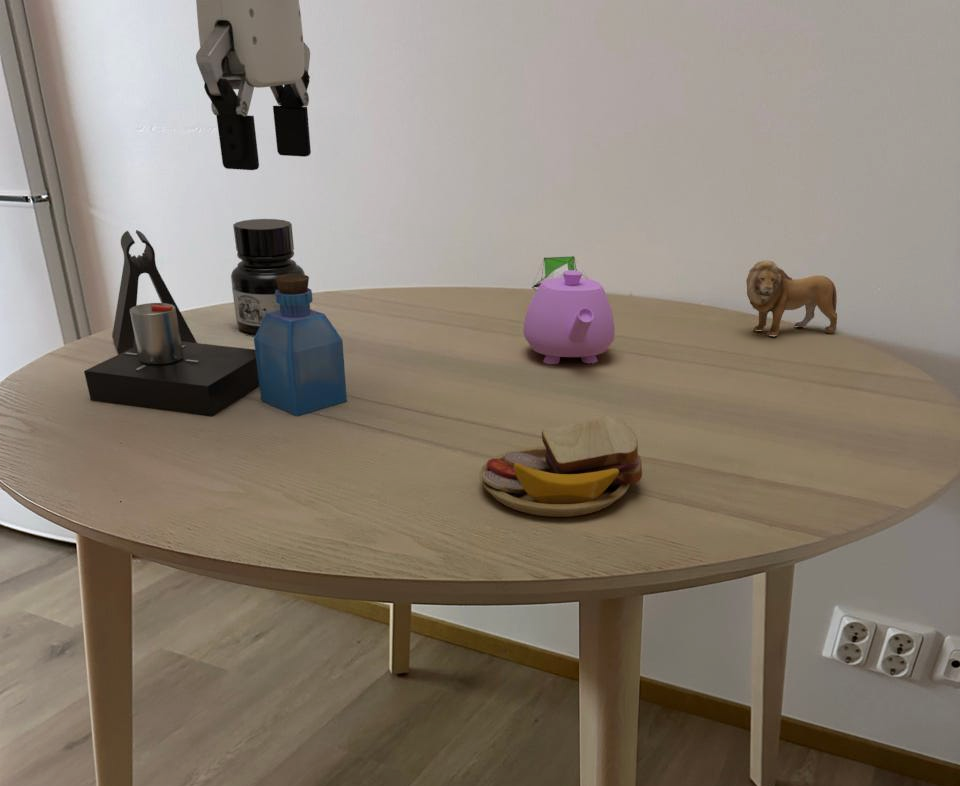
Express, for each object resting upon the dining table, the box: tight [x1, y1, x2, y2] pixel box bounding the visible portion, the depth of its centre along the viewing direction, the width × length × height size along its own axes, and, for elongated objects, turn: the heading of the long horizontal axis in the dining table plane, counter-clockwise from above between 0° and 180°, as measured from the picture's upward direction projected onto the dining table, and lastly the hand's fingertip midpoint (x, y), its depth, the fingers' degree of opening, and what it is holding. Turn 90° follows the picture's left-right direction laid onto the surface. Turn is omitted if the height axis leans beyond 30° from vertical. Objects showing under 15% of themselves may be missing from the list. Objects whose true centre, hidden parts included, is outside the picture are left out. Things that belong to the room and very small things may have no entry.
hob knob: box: [130, 302, 183, 364], centre depth 94 cm, size 4×4×5 cm
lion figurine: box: [746, 259, 838, 336], centre depth 115 cm, size 15×5×9 cm, turn 112°
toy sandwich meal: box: [478, 415, 643, 518], centre depth 76 cm, size 12×14×5 cm
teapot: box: [523, 269, 616, 365], centre depth 105 cm, size 10×15×9 cm
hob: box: [83, 341, 260, 417], centre depth 96 cm, size 14×12×3 cm
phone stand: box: [111, 229, 198, 355], centre depth 107 cm, size 9×6×12 cm, turn 113°
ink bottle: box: [230, 218, 306, 335], centre depth 113 cm, size 10×9×12 cm
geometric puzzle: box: [531, 255, 589, 292], centre depth 124 cm, size 7×7×8 cm
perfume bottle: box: [253, 274, 348, 417], centre depth 91 cm, size 6×6×12 cm
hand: (269, 161), depth 82 cm, fingers open, 9 cm apart
